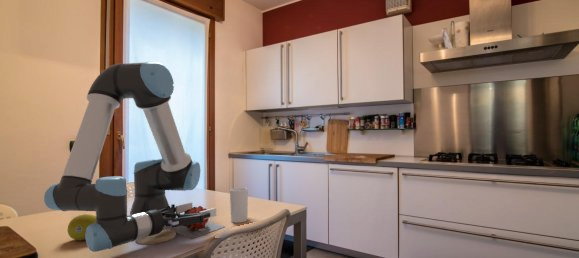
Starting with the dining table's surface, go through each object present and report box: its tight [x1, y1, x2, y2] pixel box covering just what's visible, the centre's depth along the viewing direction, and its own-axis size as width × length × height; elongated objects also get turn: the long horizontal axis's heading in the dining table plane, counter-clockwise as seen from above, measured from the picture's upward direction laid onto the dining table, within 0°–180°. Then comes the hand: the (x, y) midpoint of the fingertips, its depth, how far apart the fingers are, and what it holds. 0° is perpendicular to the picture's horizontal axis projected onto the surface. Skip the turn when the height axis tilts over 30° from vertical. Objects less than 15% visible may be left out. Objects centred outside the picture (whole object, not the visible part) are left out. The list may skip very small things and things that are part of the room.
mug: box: [229, 187, 249, 224], centre depth 118 cm, size 10×7×12 cm, turn 161°
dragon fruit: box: [183, 205, 210, 231], centre depth 107 cm, size 8×8×12 cm
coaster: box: [135, 229, 177, 245], centre depth 99 cm, size 12×12×1 cm
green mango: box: [67, 213, 96, 241], centre depth 98 cm, size 11×8×8 cm
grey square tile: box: [169, 221, 226, 239], centre depth 107 cm, size 14×14×1 cm
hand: (203, 208), depth 109 cm, fingers open, 13 cm apart
